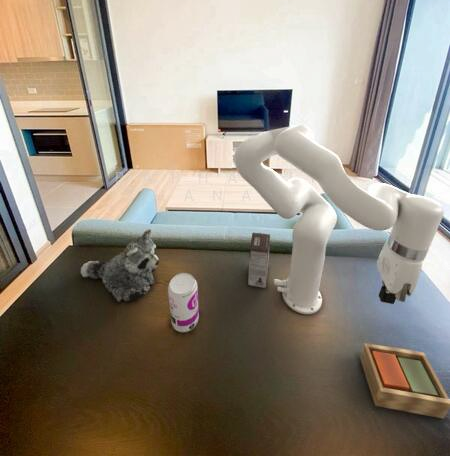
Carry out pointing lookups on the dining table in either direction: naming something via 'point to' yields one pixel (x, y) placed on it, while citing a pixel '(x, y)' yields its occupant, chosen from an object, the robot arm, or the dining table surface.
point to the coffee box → (258, 259)
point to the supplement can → (183, 302)
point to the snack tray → (403, 381)
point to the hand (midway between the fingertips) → (385, 300)
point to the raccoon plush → (127, 269)
